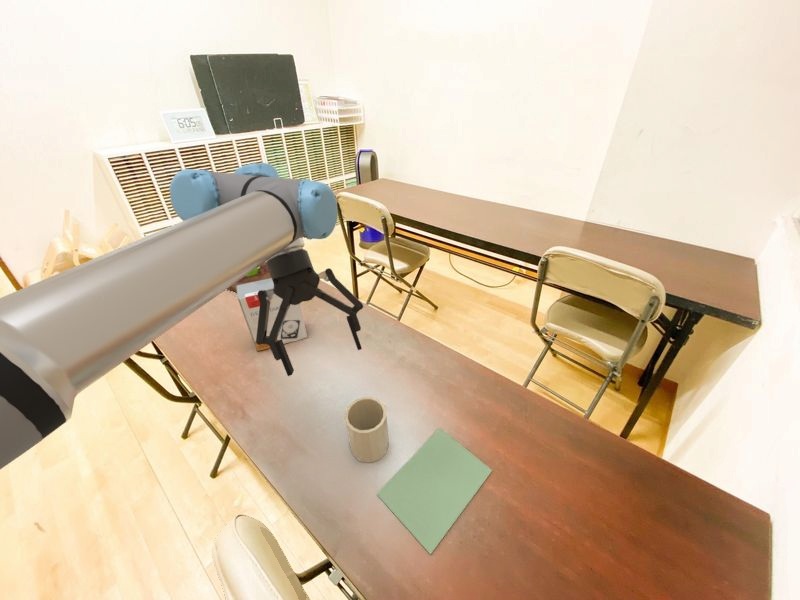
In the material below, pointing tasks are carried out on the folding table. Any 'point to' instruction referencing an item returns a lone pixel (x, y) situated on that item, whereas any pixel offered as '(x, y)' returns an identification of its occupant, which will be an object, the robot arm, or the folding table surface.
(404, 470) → the place mat
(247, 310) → the hard drive box
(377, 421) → the cup
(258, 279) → the plant
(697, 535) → the folding table surface
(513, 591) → the folding table surface
